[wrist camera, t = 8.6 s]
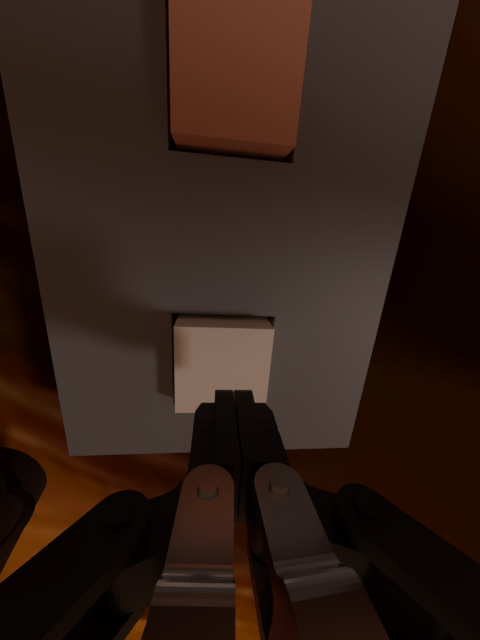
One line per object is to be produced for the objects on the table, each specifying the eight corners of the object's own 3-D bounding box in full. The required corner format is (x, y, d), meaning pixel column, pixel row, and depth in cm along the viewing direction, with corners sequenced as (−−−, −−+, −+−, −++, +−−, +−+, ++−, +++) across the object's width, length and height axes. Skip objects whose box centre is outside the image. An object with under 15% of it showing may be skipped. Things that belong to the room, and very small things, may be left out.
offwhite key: (260, 307, 17) (274, 329, 13) (254, 375, 18) (265, 412, 14) (182, 305, 16) (173, 326, 12) (182, 374, 18) (174, 412, 14)
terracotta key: (284, 55, 13) (314, -20, 9) (273, 169, 14) (295, 146, 10) (181, 39, 12) (167, -49, 8) (182, 160, 14) (170, 132, 10)
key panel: (394, 9, 14) (484, -102, 10) (319, 402, 22) (348, 447, 18) (47, -56, 12) (-56, -239, 8) (102, 404, 20) (69, 455, 16)
